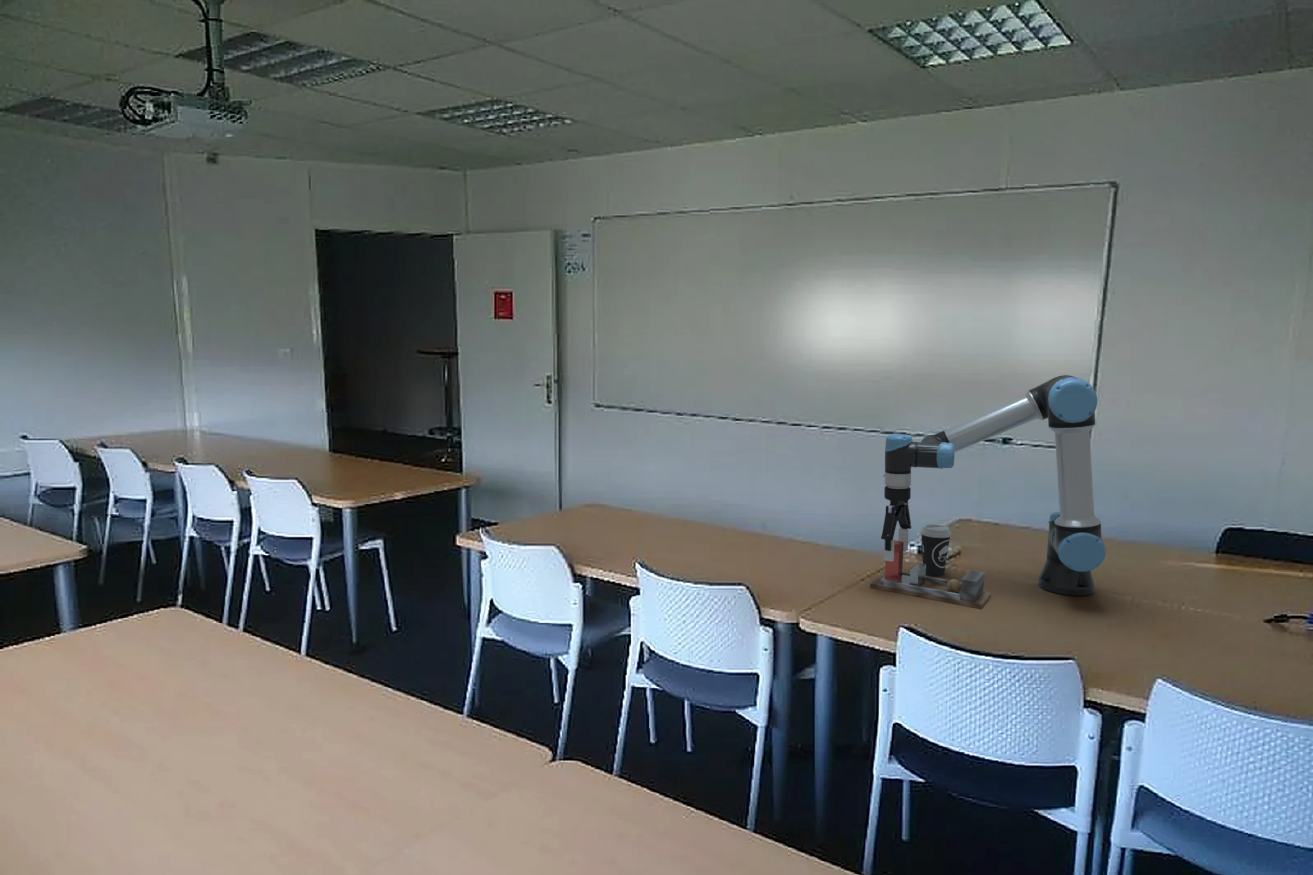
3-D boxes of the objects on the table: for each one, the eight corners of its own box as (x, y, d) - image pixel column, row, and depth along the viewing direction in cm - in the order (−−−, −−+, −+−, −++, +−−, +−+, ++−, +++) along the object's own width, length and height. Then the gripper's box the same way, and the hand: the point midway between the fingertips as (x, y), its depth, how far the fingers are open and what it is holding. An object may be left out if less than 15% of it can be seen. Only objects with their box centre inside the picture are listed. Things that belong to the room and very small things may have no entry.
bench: (990, 596, 237) (992, 573, 236) (981, 609, 227) (982, 584, 226) (883, 576, 255) (884, 554, 254) (870, 587, 245) (871, 564, 244)
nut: (956, 593, 238) (966, 585, 237) (952, 597, 235) (962, 589, 233) (946, 583, 240) (955, 574, 238) (942, 586, 236) (952, 578, 235)
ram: (925, 582, 245) (927, 543, 243) (917, 589, 239) (919, 549, 237) (889, 575, 251) (891, 537, 250) (880, 582, 245) (882, 543, 243)
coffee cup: (945, 568, 263) (947, 523, 261) (952, 578, 253) (955, 531, 251) (915, 567, 264) (917, 523, 262) (921, 577, 254) (924, 530, 252)
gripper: (898, 477, 255) (896, 543, 258) (871, 492, 234) (869, 563, 237) (922, 480, 250) (920, 546, 253) (896, 495, 230) (895, 567, 233)
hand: (896, 555), depth 245 cm, fingers open, 13 cm apart
